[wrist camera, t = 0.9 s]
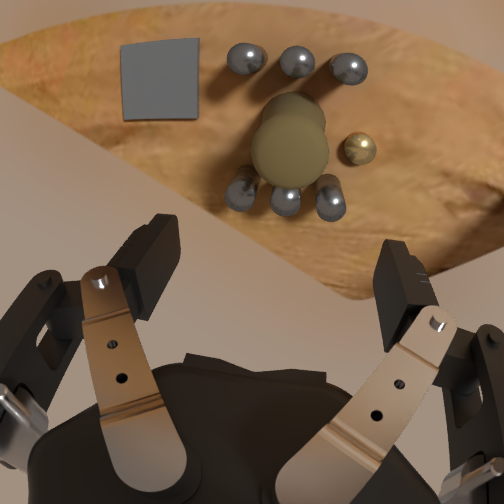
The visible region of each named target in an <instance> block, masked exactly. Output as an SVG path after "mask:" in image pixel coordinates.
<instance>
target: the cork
mask: <svg viewBox="0 0 504 504" xmlns="http://www.w3.org/2000/svg"><path fill="white" fill-rule="evenodd" d="M325 123H326V121H325V117H324V112H323V110H322V109H321V107H320V106H319V104H318V103H317V102H316V101H315V100H313V99H312V98H311V97H309V96H307V95H305V94H302V93H297V92H287V93H283V94H279V95H278V96H276V97H274V98H273V99H271V100H270V101H269V103H268V104H267V105H266V106H265V108H264V110H263V113H262V116H261V126H260V127H259V128H258V129H257V131H256V132H255V134H254V137H253V140H252V142H251V158H252V161H253V164H254V167H255V169H256V171H257V172H258V173H259V175H260V176H261V177H262V178H263V179H264V180H265V181H267V182H268V183H269V184H271V185H273V186H276V187H278V188H281V189H291V190H294V189H299V188H304V187H306V186H308V185H310V184H312V183H313V182H315V181H316V180H317V179H318V178H319V177H320V176H321V175H322V173H323V171H324V169H325V167H326V165H327V163H328V158H329V147H328V142H327V138H326V136H325V134H324V132H325Z"/></svg>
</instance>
